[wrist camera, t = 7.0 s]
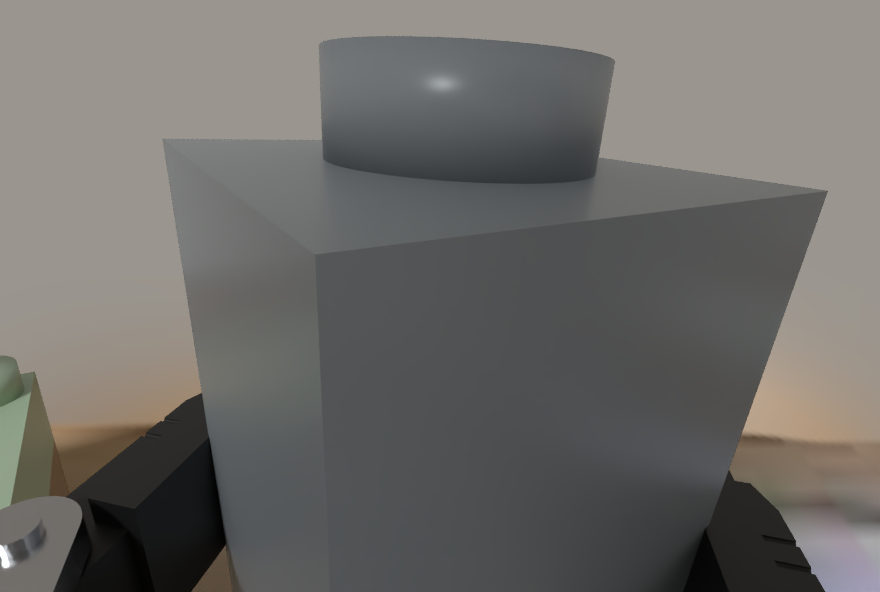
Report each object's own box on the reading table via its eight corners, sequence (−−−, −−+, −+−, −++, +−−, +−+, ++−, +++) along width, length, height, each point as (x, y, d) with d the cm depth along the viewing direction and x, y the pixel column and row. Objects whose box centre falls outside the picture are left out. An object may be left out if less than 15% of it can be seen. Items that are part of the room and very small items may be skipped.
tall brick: (448, 611, 13) (495, 78, 8) (599, 833, 9) (868, 74, 4) (254, 733, 10) (146, 43, 5) (354, 1123, 6) (298, -59, 1)
